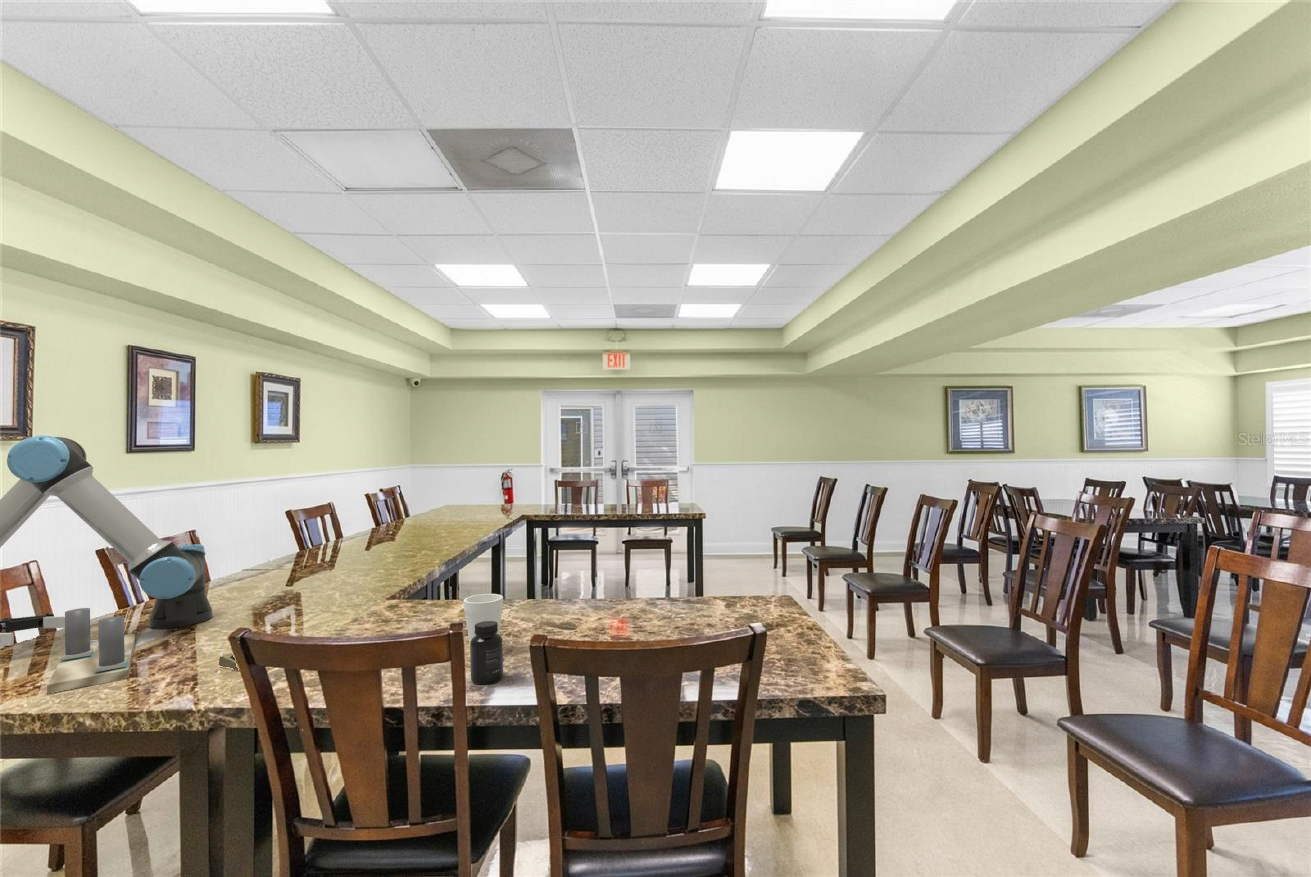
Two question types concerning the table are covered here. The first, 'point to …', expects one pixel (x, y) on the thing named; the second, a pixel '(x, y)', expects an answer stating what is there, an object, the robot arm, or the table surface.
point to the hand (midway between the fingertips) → (42, 630)
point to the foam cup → (482, 610)
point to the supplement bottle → (486, 654)
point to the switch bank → (89, 669)
